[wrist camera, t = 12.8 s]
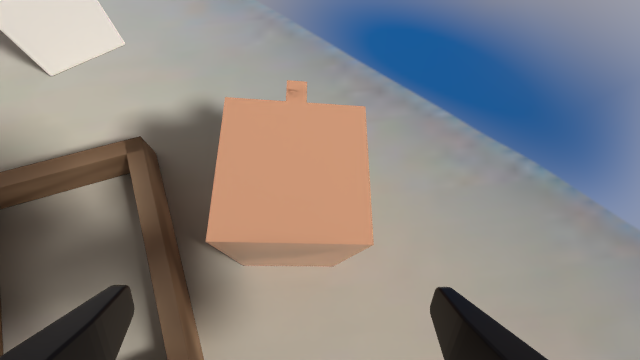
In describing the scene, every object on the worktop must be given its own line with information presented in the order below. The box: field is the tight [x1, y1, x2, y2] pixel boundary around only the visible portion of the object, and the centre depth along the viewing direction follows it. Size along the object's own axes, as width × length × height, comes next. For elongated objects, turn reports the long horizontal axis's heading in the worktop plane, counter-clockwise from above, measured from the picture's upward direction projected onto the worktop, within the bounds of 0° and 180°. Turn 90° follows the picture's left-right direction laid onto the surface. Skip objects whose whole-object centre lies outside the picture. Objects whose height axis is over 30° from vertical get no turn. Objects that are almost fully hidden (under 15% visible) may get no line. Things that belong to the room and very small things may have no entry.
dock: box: [0, 137, 204, 360], centre depth 17 cm, size 15×11×2 cm
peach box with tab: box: [206, 80, 374, 267], centre depth 17 cm, size 8×6×10 cm
